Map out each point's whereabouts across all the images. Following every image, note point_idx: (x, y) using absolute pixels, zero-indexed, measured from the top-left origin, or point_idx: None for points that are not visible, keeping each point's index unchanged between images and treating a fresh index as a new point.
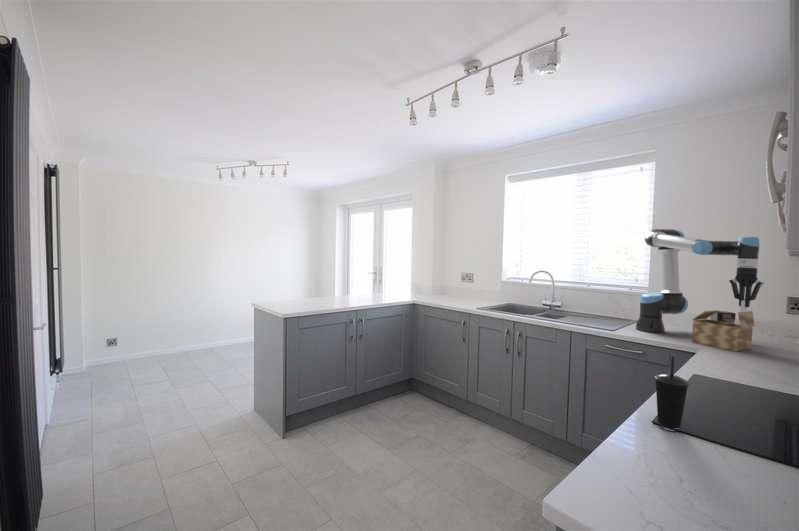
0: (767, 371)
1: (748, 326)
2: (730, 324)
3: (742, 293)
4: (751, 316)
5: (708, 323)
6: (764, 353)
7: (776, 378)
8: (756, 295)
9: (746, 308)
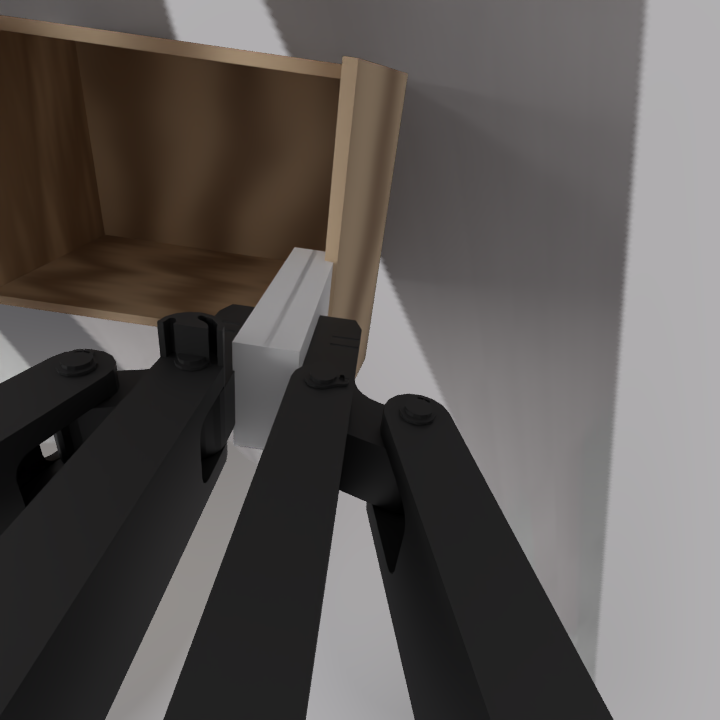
0: (532, 541)
1: (382, 229)
2: (171, 53)
3: (165, 573)
4: (372, 129)
5: (112, 317)
6: (481, 139)
7: (560, 596)
8: (490, 514)
9: (325, 299)
